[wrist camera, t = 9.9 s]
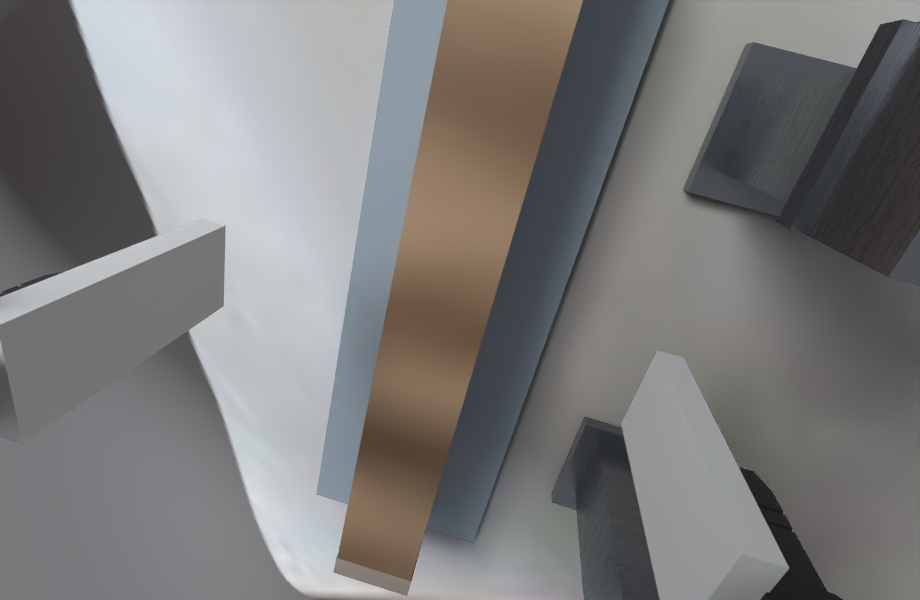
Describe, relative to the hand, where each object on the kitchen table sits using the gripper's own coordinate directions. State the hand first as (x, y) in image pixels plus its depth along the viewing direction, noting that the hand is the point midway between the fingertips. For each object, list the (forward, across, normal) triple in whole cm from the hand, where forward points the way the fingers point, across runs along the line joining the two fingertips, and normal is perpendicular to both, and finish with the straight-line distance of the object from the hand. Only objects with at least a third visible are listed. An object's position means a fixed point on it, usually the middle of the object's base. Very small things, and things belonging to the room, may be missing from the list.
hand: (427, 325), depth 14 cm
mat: (+7, 0, -1) cm, 7 cm away
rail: (+6, 0, -1) cm, 6 cm away
